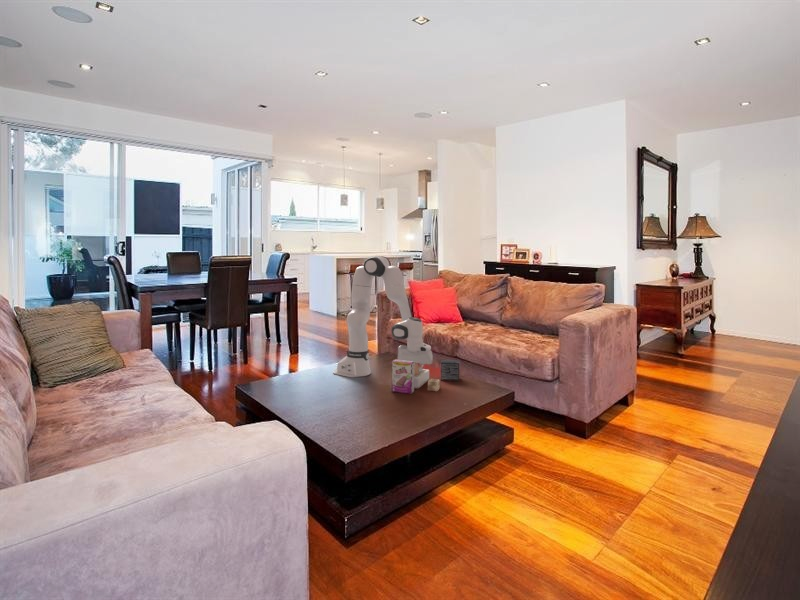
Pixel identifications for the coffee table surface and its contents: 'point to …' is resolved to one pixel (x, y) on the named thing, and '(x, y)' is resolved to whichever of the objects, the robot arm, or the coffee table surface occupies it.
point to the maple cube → (434, 384)
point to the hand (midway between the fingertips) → (415, 370)
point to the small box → (450, 370)
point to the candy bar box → (403, 376)
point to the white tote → (421, 378)
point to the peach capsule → (416, 369)
